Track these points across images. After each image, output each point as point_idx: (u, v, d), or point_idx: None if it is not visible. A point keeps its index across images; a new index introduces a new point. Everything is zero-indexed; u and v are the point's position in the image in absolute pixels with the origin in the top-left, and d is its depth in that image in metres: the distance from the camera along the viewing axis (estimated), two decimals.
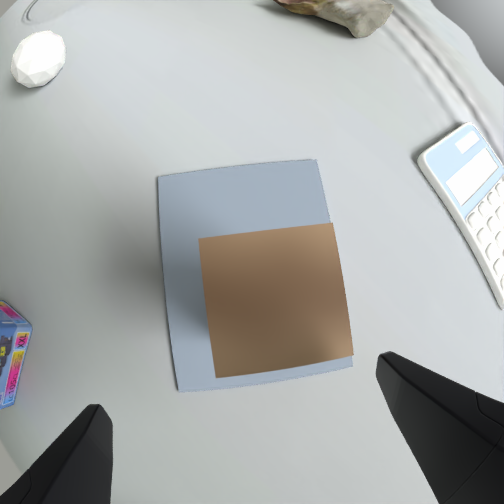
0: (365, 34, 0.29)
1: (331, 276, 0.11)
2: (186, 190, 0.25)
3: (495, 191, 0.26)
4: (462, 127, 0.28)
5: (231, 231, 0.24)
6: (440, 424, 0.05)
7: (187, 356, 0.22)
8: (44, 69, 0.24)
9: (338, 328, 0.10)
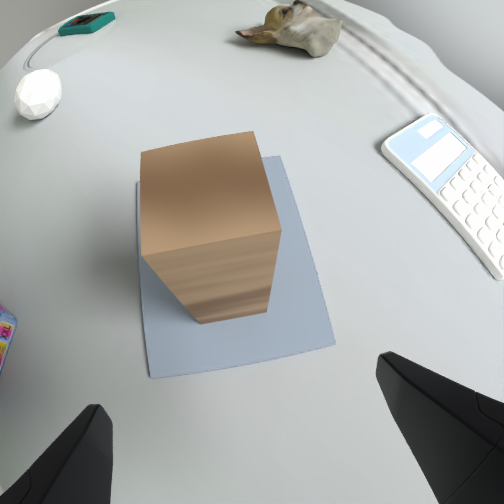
0: (321, 52, 0.36)
1: (252, 165, 0.12)
2: None
3: (467, 167, 0.28)
4: (424, 117, 0.31)
5: None
6: (440, 424, 0.05)
7: (159, 339, 0.22)
8: (43, 101, 0.30)
9: (262, 205, 0.11)
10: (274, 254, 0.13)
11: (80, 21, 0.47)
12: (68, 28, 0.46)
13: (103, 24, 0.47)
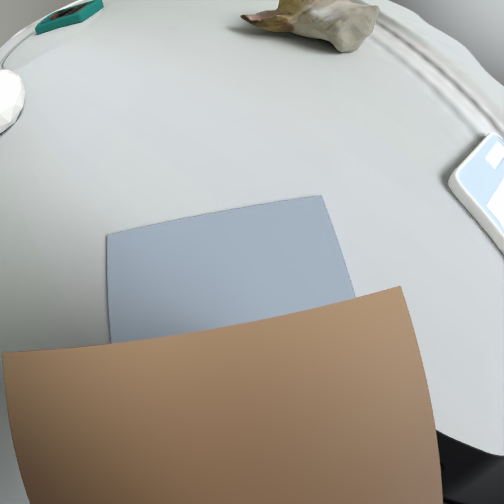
0: (351, 46, 0.26)
1: (405, 465, 0.02)
2: (142, 251, 0.18)
3: None
4: (487, 138, 0.22)
5: (206, 307, 0.16)
6: None
7: None
8: None
9: None
10: None
11: (61, 14, 0.37)
12: (48, 23, 0.36)
13: (92, 12, 0.38)
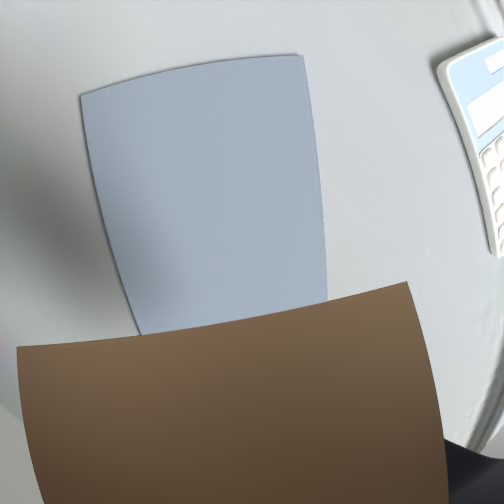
0: None
1: (413, 450, 0.02)
2: (118, 109, 0.16)
3: None
4: (495, 41, 0.15)
5: (182, 161, 0.17)
6: None
7: (147, 310, 0.20)
8: None
9: None
10: None
11: None
12: None
13: None
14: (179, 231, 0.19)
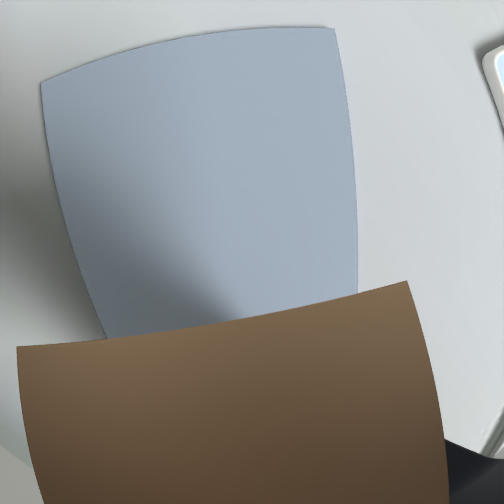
0: None
1: (414, 449, 0.02)
2: (87, 98, 0.11)
3: None
4: None
5: (172, 166, 0.12)
6: None
7: None
8: None
9: None
10: None
11: None
12: None
13: None
14: (170, 261, 0.14)
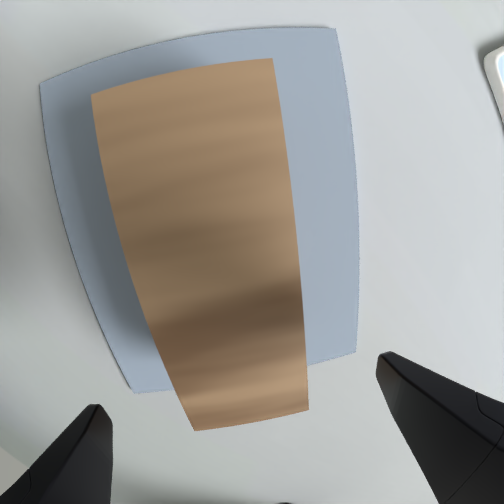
0: None
1: None
2: (85, 99, 0.11)
3: None
4: None
5: None
6: (440, 424, 0.05)
7: (133, 357, 0.15)
8: None
9: None
10: (279, 131, 0.08)
11: None
12: None
13: None
14: None
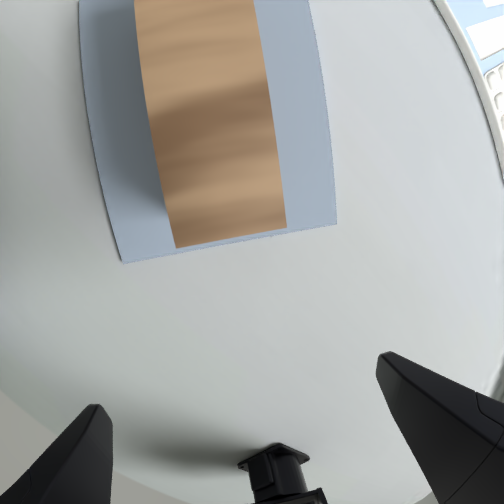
0: None
1: None
2: (115, 7, 0.12)
3: None
4: None
5: None
6: (440, 424, 0.05)
7: (127, 217, 0.17)
8: None
9: None
10: None
11: None
12: None
13: None
14: None
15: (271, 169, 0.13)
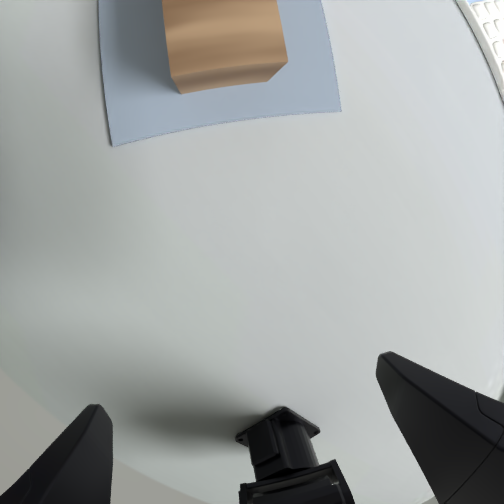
0: None
1: None
2: None
3: (503, 2, 0.13)
4: None
5: None
6: (440, 424, 0.05)
7: (123, 96, 0.15)
8: None
9: None
10: None
11: None
12: None
13: None
14: None
15: (270, 10, 0.10)
